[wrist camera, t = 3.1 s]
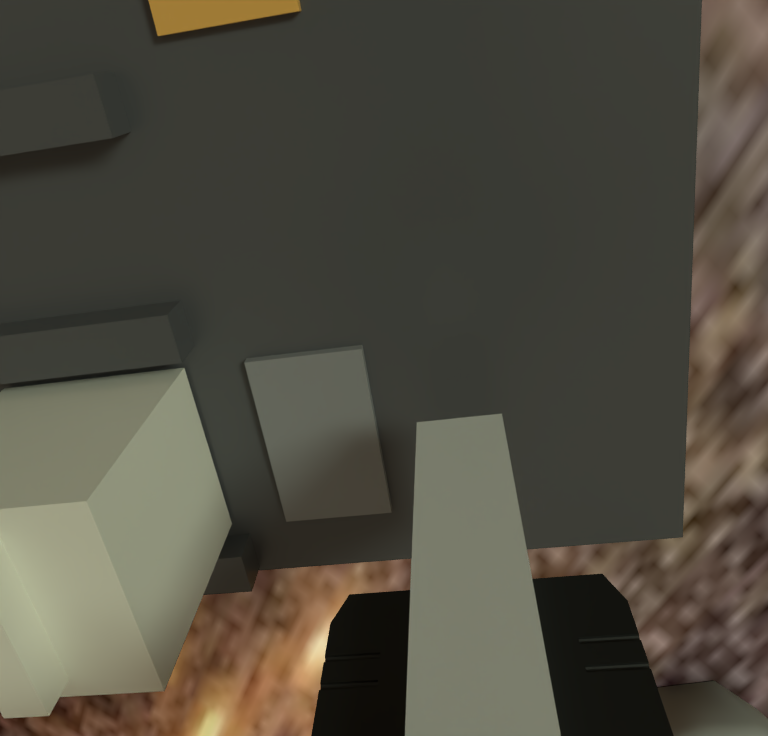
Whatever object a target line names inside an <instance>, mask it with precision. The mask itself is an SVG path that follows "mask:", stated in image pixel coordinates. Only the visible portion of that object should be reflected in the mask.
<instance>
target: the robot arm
mask: <svg viewBox="0 0 768 736" xmlns="http://www.w3.org/2000/svg"><path fill="white" fill-rule="evenodd" d="M320 684H321V690H319V694H318V700H317V706H316V712H315V718H314V724H313V729H312V735H311V736H674V735H673V732H672V729H671V726H670V723H669V720H668V718H667V715H666V712H665V709H664V706H663V703H662V700H661V697H660V694H659V691H658V688H657V685H656V683H655V680H654V677H653V674H652V671H651V669H650V668H649V664H648V659H647V656H646V653H645V650H644V648H643V645H642V642H641V640H640V639H639V633H638V630H637V627H636V624H635V621H634V618H633V616H632V613H631V610H630V607H629V604H628V601H627V600H626V599H625V598H624V596H623V595H622V594H621V593H620V592H619V591H618V590H617V589H616V588H615V587H614V586H613V585H612V584H611V583H610V582H609V581H608V579H607V578H606V577H605V576H604V575H603V574H593V575H579V576H566V577H552V578H539V579H532V575H531V570H530V564H529V559H528V553H527V548H526V542H525V537H524V531H523V526H522V520H521V515H520V510H519V504H518V499H517V493H516V488H515V482H514V477H513V471H512V466H511V460H510V455H509V450H508V444H507V439H506V433H505V428H504V422H503V417H502V414H493V415H483V416H473V417H463V418H454V419H444V420H434V421H424V422H417V430H416V456H415V482H414V508H413V534H412V561H411V587H410V590H406V591H393V592H379V593H365V594H352V595H349V596H348V598H347V599H346V601H345V602H344V604H343V605H342V607H341V608H340V610H339V611H338V613H337V614H336V616H335V617H334V619H333V620H332V622H331V624H330V630H329V636H328V642H327V647H326V653H325V662H324V665H323V671H322V677H321V683H320Z"/></svg>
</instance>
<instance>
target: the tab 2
mask: <svg viewBox="0 0 768 736" xmlns="http://www.w3.org/2000/svg"><path fill="white" fill-rule="evenodd" d="M231 525H232V522H231V519H230V516H229V512H228V509H227V506H226V502H225V499H224V496H223V493H222V489H221V486H220V483H219V480H218V476H217V473H216V470H215V467H214V463H213V460H212V457H211V453H210V450H209V447H208V444H207V440H206V437H205V434H204V431H203V427H202V424H201V421H200V417H199V414H198V411H197V408H196V404H195V401H194V398H193V395H192V391H191V388H190V385H189V382H188V378H187V375H186V372H185V368H176V369H168V370H159V371H151V372H142V373H133V374H125V375H116V376H108V377H99V378H90V379H82V380H73V381H65V382H56V383H47V384H39V385H30V386H22V387H13V388H4V389H3V390H2V391H1V392H0V712H1V714H2V716H3V718H20V717H39V716H49V715H50V714H51V712H52V710H53V708H54V706H55V705H56V703H57V701H58V699H59V697H70V696H87V695H105V694H122V693H140V692H157V691H165V688H166V686H167V683H168V681H169V679H170V676H171V674H172V671H173V669H174V666H175V664H176V661H177V659H178V656H179V654H180V651H181V649H182V646H183V644H184V641H185V639H186V636H187V634H188V631H189V629H190V627H191V624H192V622H193V619H194V617H195V614H196V612H197V609H198V607H199V604H200V602H201V599H202V597H203V594H204V592H205V589H206V587H207V584H208V582H209V579H210V577H211V575H212V572H213V570H214V567H215V565H216V562H217V560H218V557H219V555H220V552H221V550H222V547H223V545H224V542H225V540H226V537H227V535H228V532H229V530H230V527H231Z"/></svg>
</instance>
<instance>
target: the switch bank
mask: <svg viewBox="0 0 768 736" xmlns="http://www.w3.org/2000/svg"><path fill="white" fill-rule="evenodd" d="M701 8H702V0H0V392H1V391H2V390H3V389H4V388H13V387H22V386H30V385H39V384H47V383H56V382H65V381H73V380H82V379H90V378H99V377H108V376H116V375H125V374H133V373H142V372H151V371H159V370H168V369H176V368H185V372H186V375H187V378H188V382H189V385H190V388H191V391H192V395H193V398H194V401H195V404H196V408H197V411H198V414H199V417H200V421H201V424H202V427H203V431H204V434H205V437H206V440H207V444H208V447H209V450H210V453H211V457H212V460H213V463H214V467H215V470H216V473H217V476H218V480H219V483H220V486H221V489H222V493H223V496H224V499H225V502H226V506H227V509H228V512H229V516H230V519H231V522H232V525H231V527H230V530H229V532H228V535H227V537H226V540H225V542H224V545H223V547H222V550H221V552H220V555H219V557H218V560H217V562H216V565H215V567H214V570H213V572H212V575H211V577H210V579H209V582H208V584H207V587H206V589H205V592H204V594H203V595H208V594H222V593H235V592H249V591H252V589H253V586H254V583H255V580H256V577H257V573H258V570H270V569H283V568H295V567H308V566H321V565H334V564H346V563H359V562H372V561H385V560H398V559H410V558H412V534H413V508H414V482H415V456H416V430H417V422H424V421H434V420H444V419H454V418H463V417H473V416H483V415H493V414H502V417H503V422H504V428H505V433H506V439H507V444H508V450H509V455H510V460H511V466H512V471H513V477H514V482H515V488H516V493H517V499H518V504H519V510H520V515H521V520H522V526H523V531H524V537H525V542H526V548H527V549H538V548H551V547H564V546H577V545H589V544H602V543H615V542H628V541H641V540H653V539H666V538H679V537H683V510H684V482H685V454H686V426H687V398H688V370H689V343H690V315H691V287H692V259H693V231H694V203H695V175H696V147H697V119H698V92H699V64H700V36H701Z"/></svg>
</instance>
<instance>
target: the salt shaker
mask: <svg viewBox="0 0 768 736" xmlns="http://www.w3.org/2000/svg"><path fill="white" fill-rule="evenodd" d="M658 691H659V694H660V697H661V700H662V703H663V706H664V709H665V712H666V715H667V718H668V720H669V723H670V726H671V729H672V732H673V735H674V736H768V719H767V718H766V717H765V716H764V715H763V714H762V713H761V712H759V711H758V710H757V709H756V708H754V707H753V706H751V705H750V704H748V703H747V702H745V701H744V700H742V699H741V698H739V697H738V696H736V695H735V694H733V693H732V692H730V691H729V690H727V689H726V688H724V687H723V686H721V685H720V684H718V683H717V682H715V681H708V682H700V683H691V684H683V685H675V686H666V687H658Z"/></svg>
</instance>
